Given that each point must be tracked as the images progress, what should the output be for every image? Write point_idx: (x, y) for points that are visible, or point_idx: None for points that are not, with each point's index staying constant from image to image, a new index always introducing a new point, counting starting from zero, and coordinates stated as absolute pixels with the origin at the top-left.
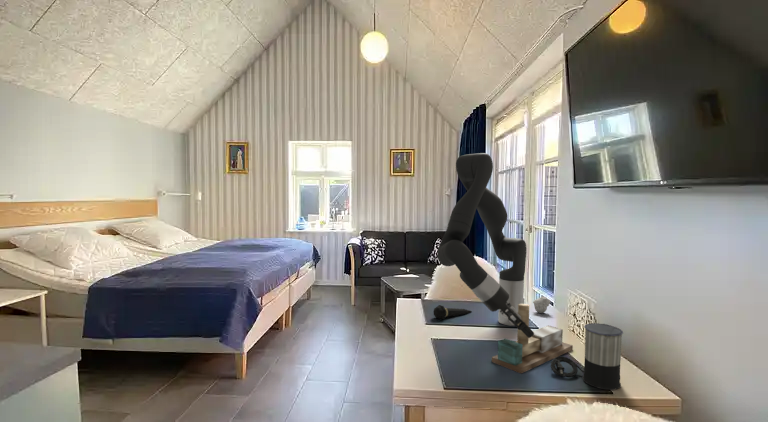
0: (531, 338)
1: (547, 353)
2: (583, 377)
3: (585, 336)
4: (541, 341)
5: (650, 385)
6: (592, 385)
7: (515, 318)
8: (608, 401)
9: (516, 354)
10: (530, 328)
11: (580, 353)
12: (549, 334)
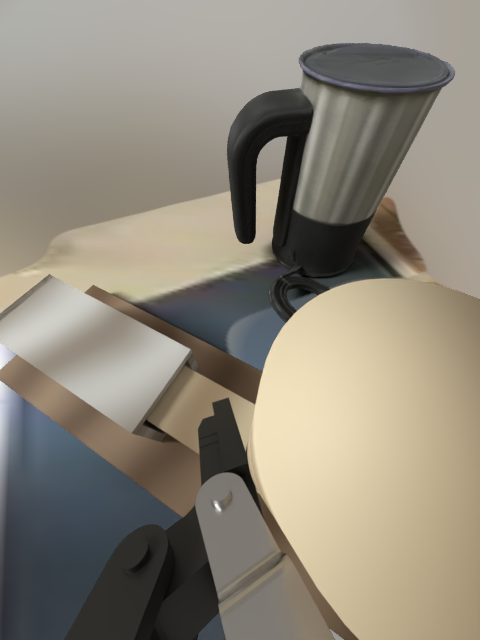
0: (192, 410)
1: (200, 357)
2: (325, 272)
3: (375, 144)
4: (192, 363)
5: (275, 187)
6: (353, 260)
7: None
8: (407, 243)
9: None
10: (228, 398)
11: (128, 277)
12: (136, 321)
